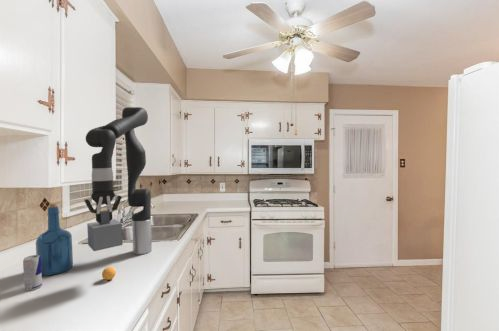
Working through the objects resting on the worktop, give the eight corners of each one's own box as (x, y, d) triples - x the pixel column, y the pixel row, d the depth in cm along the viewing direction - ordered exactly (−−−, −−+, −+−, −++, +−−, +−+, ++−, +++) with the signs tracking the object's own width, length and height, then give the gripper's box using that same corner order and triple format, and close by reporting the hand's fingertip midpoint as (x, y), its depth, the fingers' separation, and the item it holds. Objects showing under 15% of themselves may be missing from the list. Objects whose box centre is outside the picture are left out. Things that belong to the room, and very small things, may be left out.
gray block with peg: (88, 244, 108) (86, 211, 108) (115, 239, 115) (114, 207, 115) (94, 251, 101) (92, 215, 100) (122, 244, 108) (121, 211, 107)
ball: (110, 278, 112) (98, 276, 109) (115, 266, 113) (103, 264, 110) (114, 282, 108) (101, 280, 105) (119, 270, 110) (107, 267, 107)
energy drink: (45, 284, 106) (44, 254, 106) (35, 291, 101) (33, 259, 100) (31, 284, 106) (30, 254, 106) (20, 291, 101) (19, 260, 100)
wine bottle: (44, 266, 124) (41, 202, 123) (77, 262, 128) (74, 200, 127) (30, 279, 111) (27, 207, 110) (67, 274, 115) (64, 205, 114)
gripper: (118, 177, 115) (119, 217, 115) (80, 180, 105) (82, 223, 106) (124, 178, 109) (125, 220, 110) (84, 181, 100) (86, 227, 100)
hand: (104, 221), depth 108 cm, fingers closed on gray block with peg, 3 cm apart
